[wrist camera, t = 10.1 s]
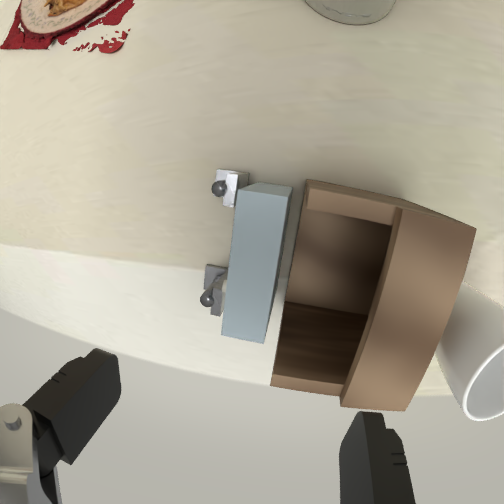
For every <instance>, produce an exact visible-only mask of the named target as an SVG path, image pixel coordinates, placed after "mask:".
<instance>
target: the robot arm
mask: <svg viewBox="0 0 504 504" xmlns="http://www.w3.org/2000/svg"><path fill="white" fill-rule="evenodd" d="M305 1H306V2H307V3H308V5H309V6H311V7H312V8H313V9H314V10H315V11H317V12H318V13H320V14H321V15H323V16H325V17H327V18H329V19H332V20H334V21H338V22H341V23H346V24H354V25H359V24H369V23H373V22H376V21H378V20H380V19H382V18H383V17H385V16H386V15H387V14H388V13H389V11H390V10H391V8H392V6H393V5H394V3H395V1H396V0H305ZM120 395H121V383H120V374H119V365H118V358H117V356H116V355H114V354H111V353H109V352H106V351H103V350H101V349H98V348H95V349H93V350H92V351H91V352H90V353H89V354H88V355H87V356H86V357H85V358H82V357H78V358H76V359H74V360H72V361H69V362H67V363H66V364H65V365H64V366H63V367H62V368H61V369H60V370H59V372H58V373H56V374H55V375H54V376H52V378H51V380H50V379H49V380H48V381H47V382H46V383H45V384H44V385H43V386H42V387H41V388H40V389H39V390H38V391H37V392H36V393H35V394H33V396H32V397H30V398H29V399H28V401H26V402H25V403H24V404H23V405H20V404H6V405H3V406H1V407H0V504H62V499H61V493H60V487H59V481H58V472H57V467H56V464H57V463H58V461H59V460H60V459H61V460H63V461H65V462H66V463H68V464H70V465H72V464H73V462H74V461H75V459H76V458H77V457H78V455H79V454H80V452H81V451H82V450H83V448H84V447H85V446H86V444H87V443H88V442H89V440H90V439H91V438H92V436H93V435H94V433H95V432H96V431H97V429H98V428H99V427H100V425H101V424H102V422H103V421H104V420H105V419H106V417H107V416H108V415H109V413H110V412H111V410H112V409H113V408H114V407H115V405H116V404H117V402H118V400H119V398H120ZM404 453H405V452H404V448H403V444H402V440H401V439H400V437H399V436H398V435H397V433H396V432H395V430H394V429H386V427H385V422H384V417H383V415H382V413H376V412H363V411H360V412H358V413H357V414H356V416H355V418H354V420H353V422H352V424H351V426H350V427H349V429H348V431H347V433H346V435H345V437H344V439H343V441H342V443H341V447H340V453H339V466H340V499H341V500H340V504H416V503H415V499H414V494H413V488H412V483H411V479H410V474H409V469H408V466H407V460H406V456H405V455H404Z"/></svg>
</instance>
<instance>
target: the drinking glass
mask: <svg viewBox="0 0 504 504" xmlns="http://www.w3.org/2000/svg"><path fill="white" fill-rule="evenodd" d="M434 354H435V356H436V358H437V361H438V363H439V366H440V368H441V370H442V373H443V375H444V377H445V379H446V382H447V384H448V386H449V387H450V389H451V391H452V393H453V395H454V397H455V398H456V400H457V402H458V403H459V405H460V406H461V408H462V410H463V412H464V414H465V415H466V416H467V417H468V418H470V419H472V420H475V421H485V420H489V419H492V418H495V417H497V416H499V415H501V414H503V413H504V307H503V306H502V305H500V304H499V303H497V302H496V301H494V300H493V299H491V298H489V297H488V296H486V295H485V294H483V293H481V292H480V291H478V290H477V289H475V288H473V287H472V286H470V285H469V284H467V283H465V282H464V281H462V283H461V286H460V289H459V292H458V295H457V298H456V301H455V303H454V306H453V309H452V312H451V314H450V317H449V319H448V322H447V325H446V327H445V330H444V332H443V334H442V337H441V339H440V342H439V344H438V346H437V348H436V351H435V353H434Z"/></svg>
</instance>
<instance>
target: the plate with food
mask: <svg viewBox="0 0 504 504" xmlns="http://www.w3.org/2000/svg"><path fill="white" fill-rule="evenodd" d="M120 1H121V0H21V2H20V5H19V7H18V9H17V11H16V12H15V14H16V15H15V18H14V19H15V20H14V22H13V25H12V27H11V29H10V31H9V34H8V36H7V38H6V40H5V41H4V44H3V45H1V46H0V49H19V48H20V47H22V48H23V49H47V48H48V46H49V45H50V44H51V42H52V41H53V40H55V39H58V42H59V43H60V44H61V45H64V44H66V43H67V42H66V43H65V41H66V40H67V39H69V38H70V37H74V36H76V35H77V34H79V33H78V32H79V30H84V31H85V30H86V28H87V27H88V28H89V27H92V26H95V25H98V23H99V24H101V23H103V25H118V24H119V23H120V22H121V20H122V17H123V16H124V15H125V13H127V12H128V10H129V9H131V8H132V7H133V6H134V4H135V3H133V1H134V0H124V1H123V2H122V3H121V4H119V5H118V7H117V8H116V9H115V8H114V9H113V10H111V11H110V12H108V14H106V15H105V16H106V17H105V16H104V17H103V18H99V19H97V20H96V21H94V22H92V23H90V24H89V26H87V27H86V28H85V26H84V24H85V25H86V24H87V23H88V22H89V21H90V20H92V19H93V18H95V17H96V16H98V15H99V14H100V13H104V12H106V11H107V10H109V8H110V7H112V6H115V4H116V3H117V2H120ZM132 3H133V4H132ZM114 10H115V11H114ZM101 19H102V22H100V21H101ZM105 19H106V20H105ZM20 21H21V27H22V28H23V29H24V33H23V32H22V31H20V28H18V26H19V24H20ZM75 31H76V32H77V33H76V32H75ZM128 31H130V29H128ZM80 32H81V31H80ZM115 32H116V33H119V32H118V31H115ZM126 34H127V33H125V32H124V31H122V37H121V38H120V37H118V38H120V39H123V40H124V39H126ZM101 38H102V39H103V37H101ZM111 40H113V41H114V43H110V44H109V41H107V40H104V43H103V44H95V43H94V44H93V45H92V49H94V48H95V47H96V46H98V48H99V50H100V51H101V52H103V53H111V52H114V51H115V50H117V49H118V48H119V47H120V46H121V45H122V44H123V43H124V42H123V43H122V42H120V41H117V40H116V38H111ZM89 44H90V43H89V42H88V43H87V44H86V45H85V46H84V45H83V44H82V45H81V47H82V48H81V47H80V48H81V49H82V50H83V49H85V48H86V47H87V46H88V45H89ZM109 46H112V48H109ZM80 48H78V47H76V49H74V50H73V51H76V50H77V49H78V50H77V51H80ZM88 49H89V48H88ZM92 49H91V50H92ZM48 50H49V49H48ZM91 50H90V51H91ZM90 51H88V52H90Z"/></svg>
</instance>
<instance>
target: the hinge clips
mask: <svg viewBox="0 0 504 504" xmlns="http://www.w3.org/2000/svg"><path fill="white" fill-rule="evenodd" d="M248 179H249V173H244V172H237V171H230V170H222V169H217V173H216V180H215V182H214V184H213V185H212V192H213V194H214V196H217V197H224V200H223V206H229V207H235V206H236V201H237V193H238V189H241V188H244V187H246V186H248ZM227 277H228V268H223V267H218V266H213V265H208V264H207V265H206V269H205V279H204V289H205V292H204V293H203V294H202V296H201V297H200V302H201V304H202V305H203V306H205V307H211V315H216V316H220V315H221V314H222V312H223V310H224V304H225V295H226V293H225V292H222V286H223V282H224V280H227Z"/></svg>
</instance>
